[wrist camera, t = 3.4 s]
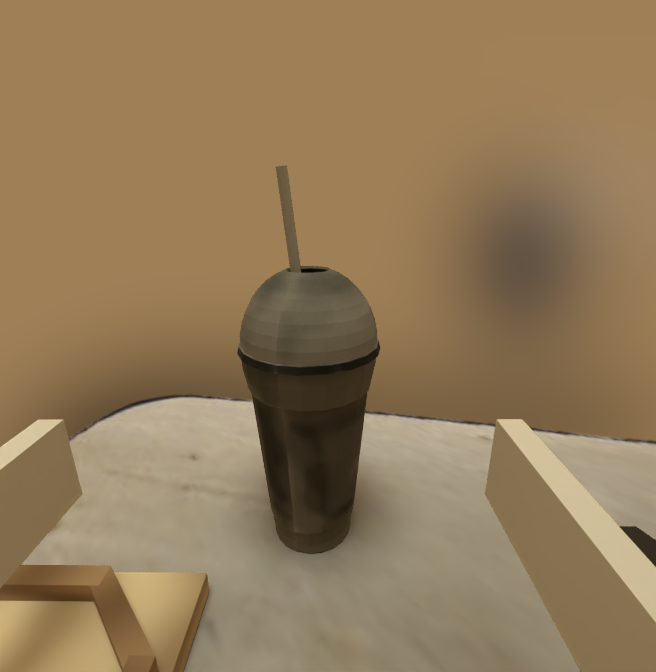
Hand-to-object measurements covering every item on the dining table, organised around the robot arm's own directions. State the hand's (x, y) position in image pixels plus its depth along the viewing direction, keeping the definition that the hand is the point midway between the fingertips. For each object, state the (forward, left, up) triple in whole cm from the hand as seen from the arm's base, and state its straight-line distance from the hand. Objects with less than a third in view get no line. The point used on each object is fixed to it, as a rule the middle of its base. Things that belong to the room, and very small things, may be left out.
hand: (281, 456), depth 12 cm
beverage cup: (0, -9, -11) cm, 14 cm away
